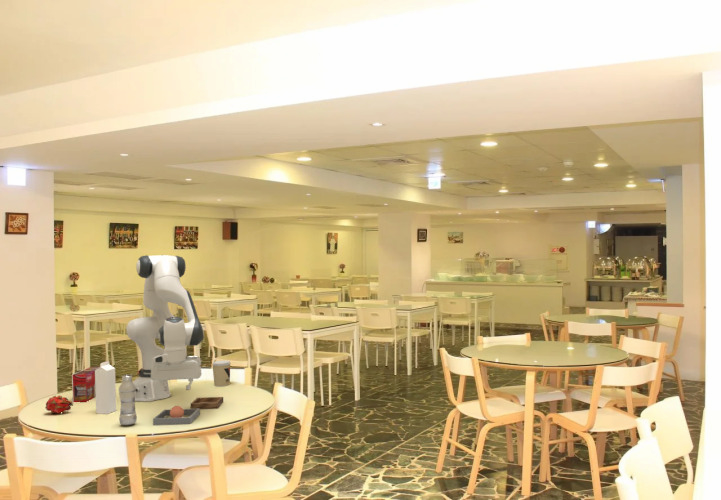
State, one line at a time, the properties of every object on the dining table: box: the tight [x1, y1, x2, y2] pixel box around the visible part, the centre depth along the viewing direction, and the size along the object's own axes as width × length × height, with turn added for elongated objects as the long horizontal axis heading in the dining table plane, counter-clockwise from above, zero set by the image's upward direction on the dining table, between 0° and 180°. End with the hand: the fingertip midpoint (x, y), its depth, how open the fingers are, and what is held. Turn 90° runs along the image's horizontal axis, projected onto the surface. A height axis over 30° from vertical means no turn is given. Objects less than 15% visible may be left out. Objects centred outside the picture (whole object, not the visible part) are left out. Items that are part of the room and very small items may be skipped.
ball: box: [169, 405, 185, 418], centre depth 261 cm, size 6×6×6 cm
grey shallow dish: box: [152, 408, 201, 426], centre depth 261 cm, size 15×15×2 cm
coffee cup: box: [212, 360, 231, 388], centre depth 329 cm, size 9×9×12 cm
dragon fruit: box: [44, 395, 74, 414], centre depth 278 cm, size 8×8×12 cm
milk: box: [95, 360, 117, 415], centre depth 278 cm, size 6×6×22 cm
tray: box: [189, 396, 224, 410], centre depth 284 cm, size 12×12×2 cm
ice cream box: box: [71, 366, 100, 403], centre depth 309 cm, size 20×6×13 cm, turn 1°
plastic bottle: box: [118, 374, 138, 426], centre depth 255 cm, size 6×7×20 cm
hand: (176, 390), depth 261 cm, fingers open, 8 cm apart
